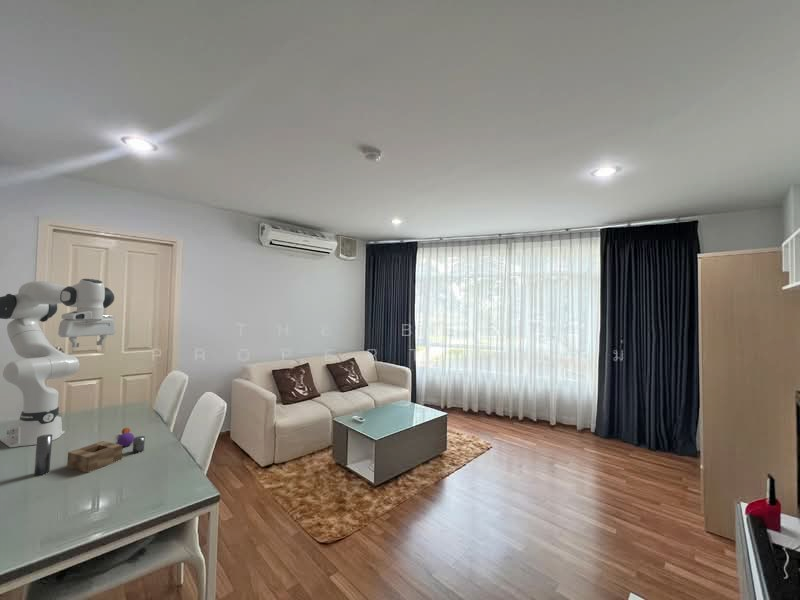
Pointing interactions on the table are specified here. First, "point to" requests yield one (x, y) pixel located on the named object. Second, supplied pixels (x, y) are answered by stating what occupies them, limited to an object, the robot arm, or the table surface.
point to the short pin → (138, 444)
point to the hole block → (94, 456)
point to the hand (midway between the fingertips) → (87, 346)
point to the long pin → (43, 454)
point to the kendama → (125, 437)
